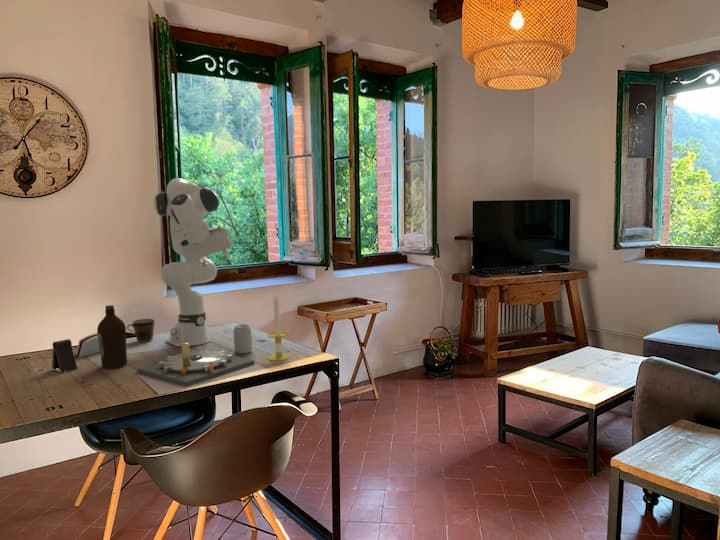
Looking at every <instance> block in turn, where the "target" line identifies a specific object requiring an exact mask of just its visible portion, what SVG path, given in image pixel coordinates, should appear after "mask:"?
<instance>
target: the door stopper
mask: <svg viewBox="0 0 720 540" xmlns="http://www.w3.org/2000/svg"><path fill="white" fill-rule="evenodd" d="M72 345H73V344H72V340H71V339H63V340H58V341H54V342H52V362H51V369H52V368H53V369H56V368H59V369H60V371H61V372H64V371H68V370H73V371H75V370H74V369H77V370H78V366H77V363H76V358H75V356H74V351H73V346H72Z"/></svg>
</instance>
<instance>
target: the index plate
mask: <svg viewBox="0 0 720 540" xmlns="http://www.w3.org/2000/svg"><path fill="white" fill-rule="evenodd" d="M204 350H205V349H203V350H201V351H204ZM163 361H164V360H162V361H161V362H163ZM252 365H255V360H254V359H250V358H249V359H248V358H245V357H241V356H236V355H232V360H231V361H227V366H225V367H223V366H220V367H217V368H214V369H213V362H209V371H208V372H205V371H200V372H190V373H187V374H182V373H178V372H168V373H165V372H164V368H159V362H155V363H151V364H148V365H144V366H141V367H137V368H136V371H137V373H139V374H142V375H146V376H150V377H154V378H156V379H160V380H164V381H166V382H167V381H169V382H170V383H171V382H172V383H175V384H178V385H181V386H186V387H188V386H191V385H194V384H196V383H200V382H203V381H206V380H209V379H213V378H215V377H216V378H217V377H219V376H221V375H225V374H228V373H231V372H233V371H237V370H239V369H240V370H241V369H243V368H246V367H250V366H252Z"/></svg>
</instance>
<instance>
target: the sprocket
mask: <svg viewBox="0 0 720 540" xmlns="http://www.w3.org/2000/svg"><path fill="white" fill-rule="evenodd" d="M180 347H181V353H180V354H175V355H167V356H166V358H165V360H162V361H163V362H162V361H158V363H159V368H164V372H165V373H168V372H178V373H182V374H187V373H190V372H200V371H205V372H208V371H209V362H213V369H214V368H217V367H220V366H223V367H225V366H227V361H231V360H232V356H233V355H232V354H226V350H220V351H217V350H216V351H215V350H210V349H203V350H204V351H202V350H197V351H190V346H189V342H184V343H181V346H180Z"/></svg>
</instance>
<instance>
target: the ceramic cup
mask: <svg viewBox="0 0 720 540" xmlns="http://www.w3.org/2000/svg"><path fill="white" fill-rule="evenodd" d="M130 326H132V328H133V330H134V331H133V330H130V329H129V327H130ZM154 328H155V319H153V318H141V319H136V320H133V321H132V323H131V324H128V325H127V326H126V329H127V331H130V332H131V333H132V334H134V335H135V337H136V342H137V343H149V342H152V341H153V339H154V330H155V329H154Z"/></svg>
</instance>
